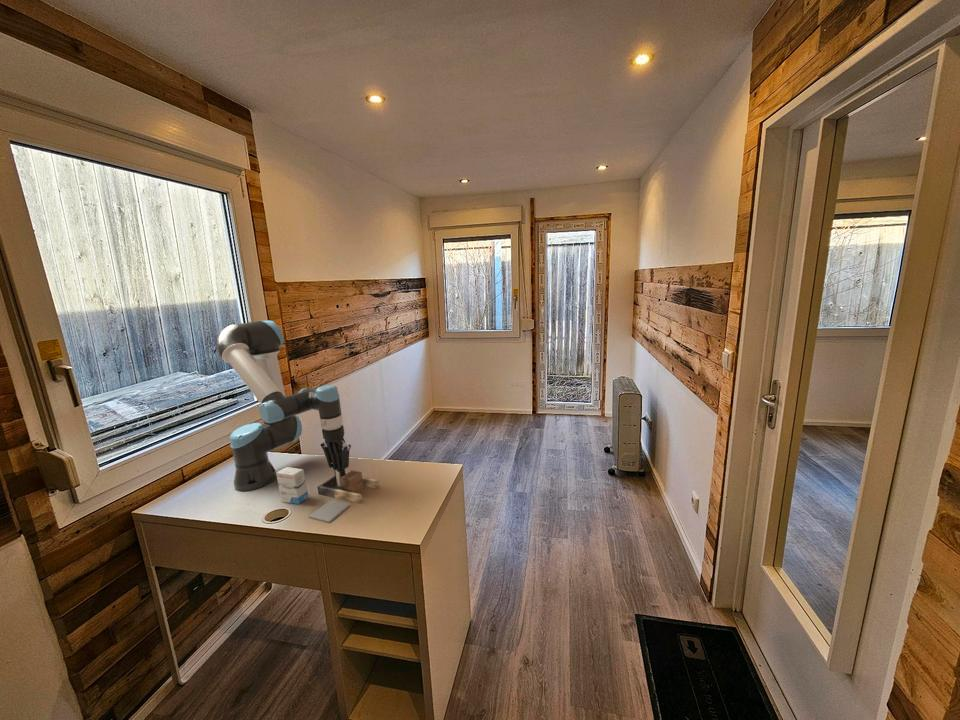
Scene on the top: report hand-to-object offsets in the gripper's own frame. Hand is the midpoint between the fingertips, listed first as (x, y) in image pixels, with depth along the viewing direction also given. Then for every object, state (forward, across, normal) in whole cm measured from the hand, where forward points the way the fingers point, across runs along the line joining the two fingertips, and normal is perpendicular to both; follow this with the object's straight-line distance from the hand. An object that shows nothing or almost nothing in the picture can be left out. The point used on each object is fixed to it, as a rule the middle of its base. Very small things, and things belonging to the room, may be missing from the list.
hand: (341, 484), depth 144 cm
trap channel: (+2, +3, 0) cm, 4 cm away
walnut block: (+2, +5, 0) cm, 6 cm away
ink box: (+2, -13, -11) cm, 17 cm away
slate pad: (+2, +6, -13) cm, 15 cm away
